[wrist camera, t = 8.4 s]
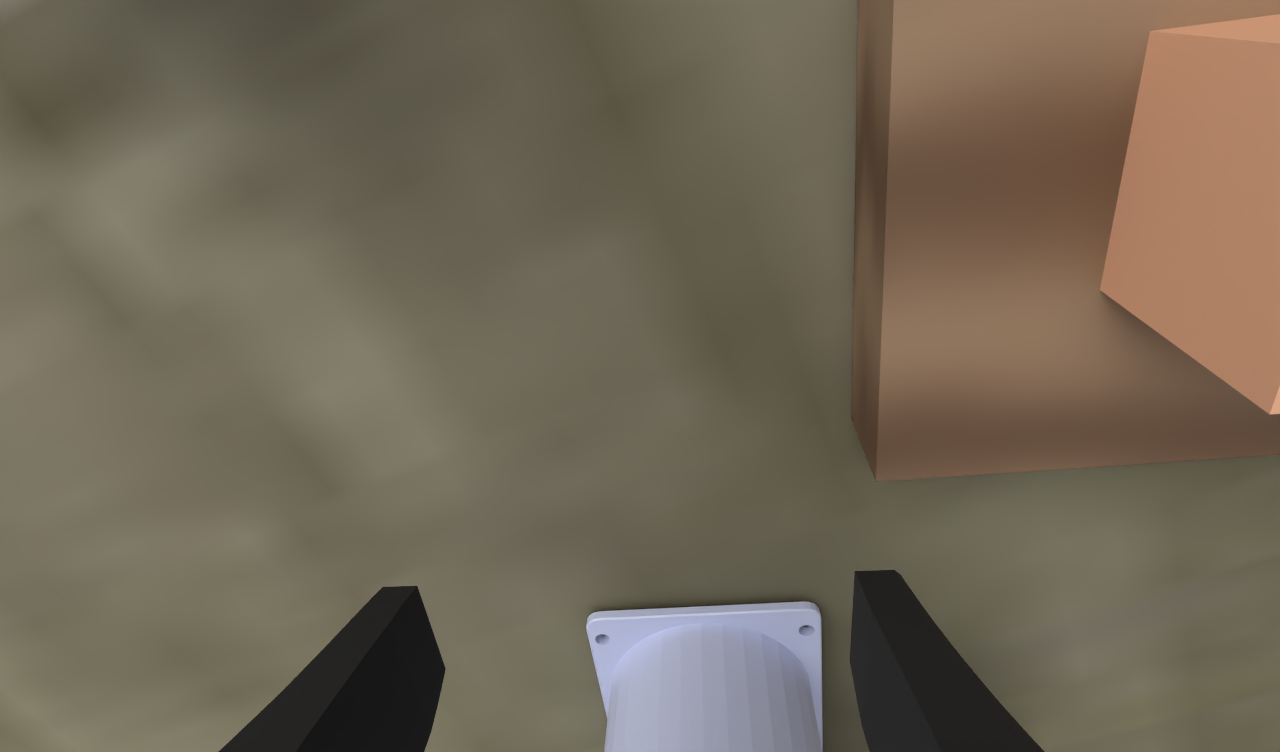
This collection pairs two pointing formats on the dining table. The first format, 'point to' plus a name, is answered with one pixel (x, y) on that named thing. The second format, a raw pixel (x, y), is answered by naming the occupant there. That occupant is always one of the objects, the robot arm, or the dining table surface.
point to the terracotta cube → (1206, 201)
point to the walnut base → (1014, 246)
